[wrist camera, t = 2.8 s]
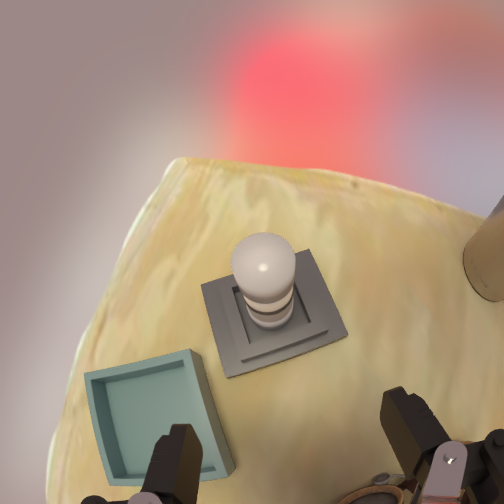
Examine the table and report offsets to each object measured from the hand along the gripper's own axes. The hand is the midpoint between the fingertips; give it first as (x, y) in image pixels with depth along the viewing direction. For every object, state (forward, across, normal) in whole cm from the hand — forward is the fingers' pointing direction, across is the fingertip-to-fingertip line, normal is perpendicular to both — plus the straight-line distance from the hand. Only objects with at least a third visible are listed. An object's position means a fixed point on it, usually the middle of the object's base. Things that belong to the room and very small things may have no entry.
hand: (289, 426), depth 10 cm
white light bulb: (+17, 0, +3) cm, 17 cm away
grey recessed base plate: (+18, 0, +3) cm, 18 cm away
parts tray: (+10, +12, +11) cm, 19 cm away
